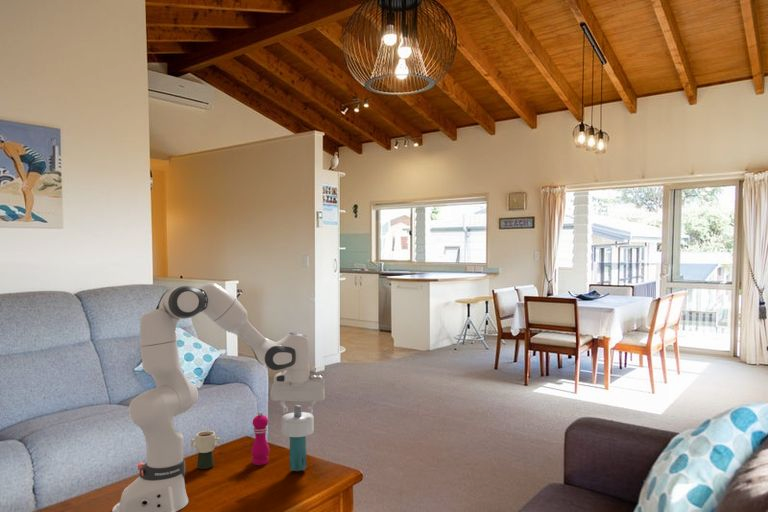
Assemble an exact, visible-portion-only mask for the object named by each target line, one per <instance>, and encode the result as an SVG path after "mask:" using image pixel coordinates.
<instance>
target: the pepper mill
mask: <svg viewBox="0 0 768 512" xmlns="http://www.w3.org/2000/svg"><path fill="white" fill-rule="evenodd" d="M268 424H269V418H268V417H267V416H266V415H264V414H263V411H260V410H259V411H258V413H257V415H256V416H254V417H253V419H252V426H253V427H254V428H253V432H254V436H255V437H254V441H253V444H252V446H251V450H250V454H251V456H252V458H251V463H252V464H253V465H254V464H255V466H262V465H266V464H267V463H269V456H268V455H269V454H270V450H271V449H270V445H269V443H268V441H267V438H266V433H267V431H268V429H267V426H268Z"/></svg>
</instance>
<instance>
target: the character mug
mask: <svg viewBox="0 0 768 512" xmlns="http://www.w3.org/2000/svg"><path fill="white" fill-rule="evenodd" d="M216 441H217V443H216ZM194 442H195V444H194ZM219 446H221V438H220V437H219V436H218V437H216V432H215V431H213V430H204V431H198V432H197V433H196V434H195V438H191V439H190V448H195V451H196V452H197V453H198V455H197V460H196V468H198V469H199V470H200V469H201V470H206V469H209V468H213V466H214V465H215V461H214V453H213V451H214V450H215V449H216V447H219Z"/></svg>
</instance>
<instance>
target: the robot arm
mask: <svg viewBox="0 0 768 512" xmlns="http://www.w3.org/2000/svg"><path fill="white" fill-rule="evenodd" d="M243 305H244V304H242V303H241V302H240V301H239V300H238V299H237V298H236V297H235V296H234V295H233V294H232V293H231V292H229V291H228V290H226V289H225V288H223V286H221V285H219V284H217V283H215V282H208V283H205V284H203V285H202V286H200V287H195V286H189V285H179V286H174V287H172V288H170V289H168V290H166V291H165V292H163V294H162V296H161V297H160V298H159V301H158V304H157V306H156V308H155V309H150V310H149V311H147V312H145V313H144V314H143V315H142V316H141V318H140V323H139V324H140V325H139V344H140V354H141V355H140V356H141V363H142V364H141V365H142V369H143V372H145V373H146V374H148V375H150V376H151V377H152V378H153V379H154V382H155V385H156V387H155V388H151V389H148V390H144V391H143V392H142V393H140V394H138V395H137V396H135V397H134V398H133V399H132V400H131V401H130V403H129V405H128V415H129V419H130V420H131V422H132V423H133V424H134V425H136V426H137V427H139V428H140V429H141V431H142V433H143V436H144V439H145V444H146V445H145V447H146V448H145V449H146V463H144V462H138V464H137V466H136V467H137V470H139V476H138V477H137V478H136V479H135V480H133V482H131V483H130V484H128V485H127V486H126V487H125V488H124V490H123V491H122V493H121V497H120V499H119V502H117V504H115V505H114V506H113V507H112V511H111V512H178V511H180V510H182V509H183V508H185V507H186V506H187V505H188V504H189V497H188V495H187V491H186V483H185V475H186V461H185V457H184V436H183V434H182V433H181V432H180V431H178V430H177V429H175V426H174V422H173V421H174V418H175V417H176V416H177V417H178V416H179V415H181V414H184V413H186V412H187V411H189V410H190V409H191V408H192V407H194V406H195V405H196V404H197V402H198V399H199V391H198V387H197V386H196V384H195V383H193V382H192V381H190V380H189V379H188V378H187V376H186V375H185V372H184V370H183V368H182V366H181V362H180V356H179V347H178V341H177V333H176V327H177V324H178V322H179V321H180V320H186V319H189V318H192V317H195V316H196V315H197V316H198V314H200V313H203V314H204V315H206V316H207V317H208V318H209V319H210V321H212V322H213V323H214V324H216V325H217V326H218V327H219V328H221V329H223V330H224V331H225V332H228V333H231V334H234V335H236V336H237V337H239V338H240V339H241V340H242V341H243V343H245V344H246V345H247V346H248V347H250V349H251V351H252V352H253V355H254V357H255V359H256V361H257V362H258V363H260V364H261V365H262V366H265V367H266V368H268V369H269V370H272V371H280V370H283V369H285V370H283V371H281V372H278V373H276V374H275V375H274V376H273V383H272V385H271V389H270V399H271V401H273V402H274V401H275V402H278V401H279V404H280V406H281V407H282V413H285V414H286V413H288V412H289V407H288V406H286V404H285V402H287V401H288V402H310V404H311V406H308V407H307V413H311V414H313V408H314V405H315V404H316V402H322V401H324V399H325V396H326V394H325V386H326V379H325V377H323V376H321V375H310V374H311V373H310V371H311V370H310V369H311V368H310V362H309V360H310V357H311V355H310V354H311V350H310V340H309V337H308V336H307V335H305V334H303V333H300V332H299V333H298V332H288V334H286V336H284V337H283V338H281V339H280V340H278V341H276V340H273V339H272V338H267V337H266V336H264V335H263V334H262V333H260V332H259V331H258V330H257V329H256V327H254V326H253V325H252V324H251V323H250V321H249V318H248V316H249V315H248V313H249V312H248V311H247V309H246V308H245V307H244V306H243Z"/></svg>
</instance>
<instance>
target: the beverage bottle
mask: <svg viewBox="0 0 768 512" xmlns="http://www.w3.org/2000/svg"><path fill="white" fill-rule="evenodd" d="M288 455H289V469H290V470H291V471H295V472H301V471H304V470H305V469H306V468H307V463H308V461H307V436H303V437H289V454H288Z"/></svg>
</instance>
